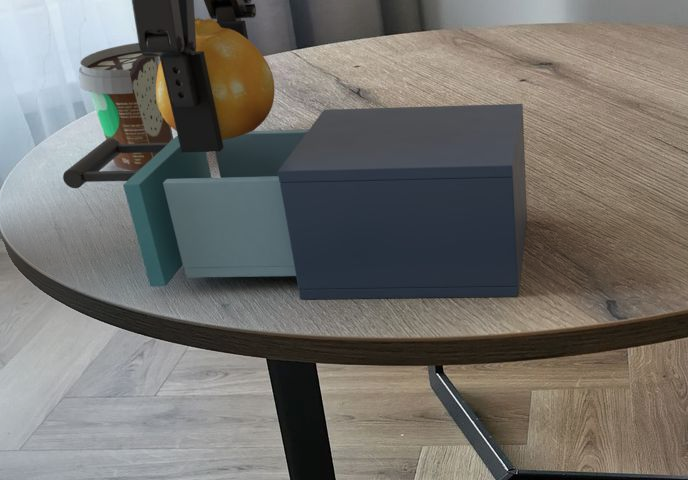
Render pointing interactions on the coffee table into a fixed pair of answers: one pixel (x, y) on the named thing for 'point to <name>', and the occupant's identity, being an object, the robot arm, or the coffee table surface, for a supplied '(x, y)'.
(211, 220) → the drawer
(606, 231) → the coffee table surface
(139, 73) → the food container
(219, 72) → the fruit
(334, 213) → the cabinet
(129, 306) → the coffee table surface
